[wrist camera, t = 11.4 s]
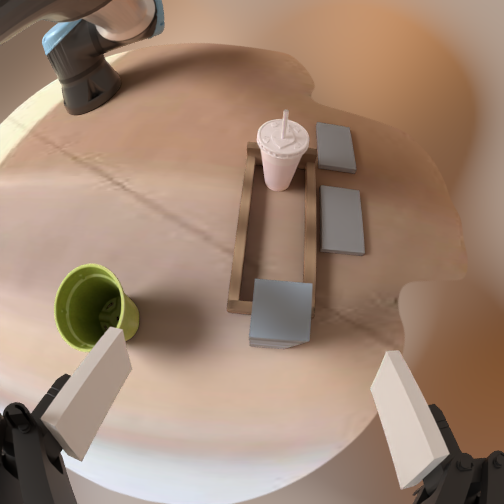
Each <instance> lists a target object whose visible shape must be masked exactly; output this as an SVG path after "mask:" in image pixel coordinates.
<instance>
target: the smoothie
mask: <svg viewBox="0 0 504 504" xmlns="http://www.w3.org/2000/svg"><path fill="white" fill-rule="evenodd" d="M288 114H289V110H284V113H283V119H274V120H270V121H268V122H266V123H264V124H263V125H262V126H261V127H260V128H259V130H258V134H257V143H258V146H259V147H260V149H261V156H262V163H263V170H264V178H265V184H266V185H267V187H268V188H269V189H271V190H273V191H283V190H285V189H287V188H288V187H289V185H290V182H291V180H292V178H293V175H294V173H295V171H296V168H297V166H298V164H299V161H300V159H301V157H302V155H303V154H304V153H305V152H306V151H307V149H308V146H309V134H308V132H307V131H306V129H305V128H304V127H303V126H301V125H300V124H298V123H296V122H294V121H291V120H288Z"/></svg>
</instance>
